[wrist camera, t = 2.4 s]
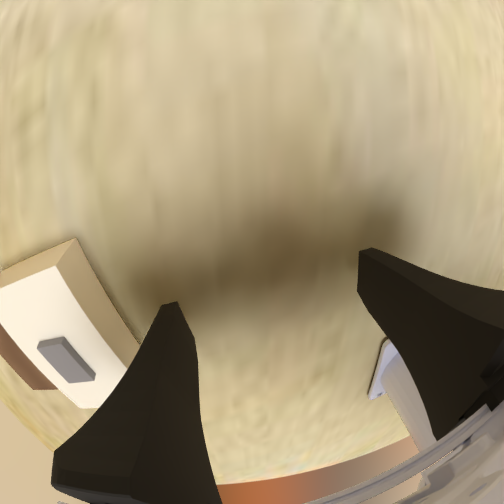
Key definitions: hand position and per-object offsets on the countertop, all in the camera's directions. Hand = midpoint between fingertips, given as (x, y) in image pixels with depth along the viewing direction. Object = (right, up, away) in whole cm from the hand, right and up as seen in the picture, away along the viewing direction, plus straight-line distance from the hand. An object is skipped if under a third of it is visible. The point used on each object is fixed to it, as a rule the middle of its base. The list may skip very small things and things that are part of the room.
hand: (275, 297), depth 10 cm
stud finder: (-9, -2, +1) cm, 9 cm away
